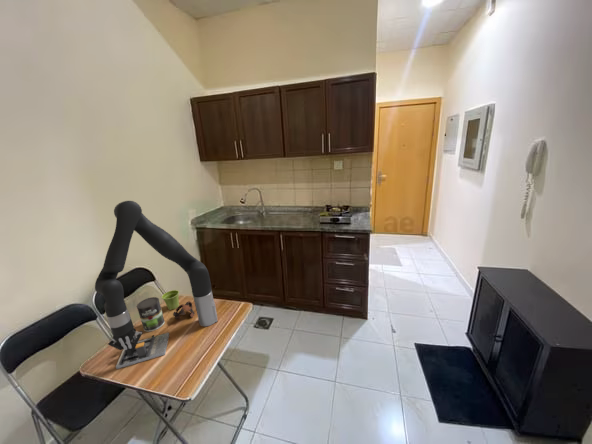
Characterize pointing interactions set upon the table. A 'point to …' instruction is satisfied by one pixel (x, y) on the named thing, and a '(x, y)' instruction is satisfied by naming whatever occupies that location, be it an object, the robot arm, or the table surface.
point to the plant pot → (171, 299)
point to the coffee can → (150, 314)
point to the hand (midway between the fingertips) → (131, 354)
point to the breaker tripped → (141, 349)
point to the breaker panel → (154, 349)
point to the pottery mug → (184, 307)
